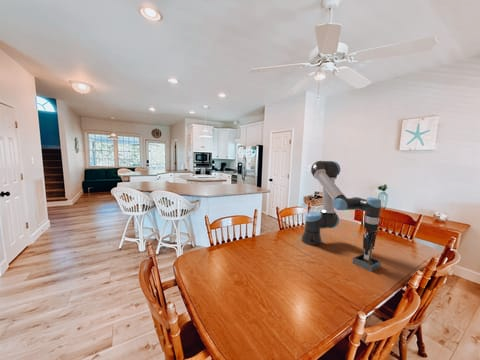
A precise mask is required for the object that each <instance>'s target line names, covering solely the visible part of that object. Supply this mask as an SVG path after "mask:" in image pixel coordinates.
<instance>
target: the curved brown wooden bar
mask: <svg viewBox="0 0 480 360" xmlns="http://www.w3.org/2000/svg"><path fill="white" fill-rule="evenodd" d="M372 245H373V243H372V242H370V249H369V250H370V255H369V260H366V259H364V260H366V261H371V257H372V255H371V254H373V249H372Z"/></svg>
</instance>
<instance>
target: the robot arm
mask: <svg viewBox="0 0 480 360" xmlns="http://www.w3.org/2000/svg"><path fill="white" fill-rule="evenodd" d="M310 173H311V175H312V177H313V178H314V179H316V180H317V181H318V182H319V183H320V185H321V186H322V209H321V210H320V212H318V211H309V212H307V213H306V215H305V223H304V224H305V225H304V232H303V234H302V236H301V242H303V243H304V244H306V245H311V246H320V245H322V242H323V241H322V240H323V239H322V235H321V230H322V229H334V228H337V227H338V226H339V224H340V217H339V215H338V214H337V211H353V210H354V211H357V210H358V211H364V212H365V214H364V221H363V222H364V223H363V224H364V225H363V228H364V229H365V233H364V234H362V237H363V240H362V242H363V243H362V249H363V250H364V253H363V254H364V259H366V260H369V255H370V250H369V249H370V242H372V243H373V245H372V250H374V249H375V244H376V238H377V234H378V232H377V231H378V230H379V223H380V221H381V219H380V217H381V216H380V215H381V209H382V200H381V199H380V198H377V197H367V198H365V199H364V198H361V197H356V196H353V197H351V198H350V197H349V198H348V197H346V195H345V194H344V193H343V192H342V191H341V189H340V188H339V187H338V186H337V185H336V181H335V180H337V178H338V176H339V175H340V173H341V165H340V164H339V163H338V162H337V161H334V160H330V161H329V160H318V161H315V162H314V163H313V164H312V165H311V167H310ZM336 210H337V211H336ZM372 254H373V253H372ZM372 254H371V256H372Z"/></svg>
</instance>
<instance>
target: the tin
mask: <svg viewBox="0 0 480 360" xmlns="http://www.w3.org/2000/svg"><path fill="white" fill-rule="evenodd" d="M352 264H354V265H356V266H358V267H360V268H363V269H365V270H366V271H369V272H371V273H372V272H374V271H376V270H378V269H379V268H381V267H382V260H379V259H377V258H374V257H372V256H371V261H366V260H364V253H361V254H358V255H356V256H354V257H352Z"/></svg>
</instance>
